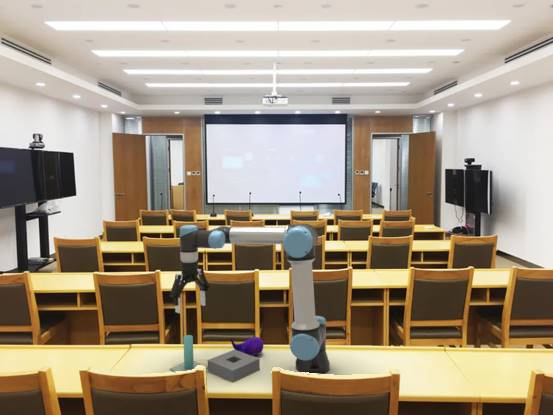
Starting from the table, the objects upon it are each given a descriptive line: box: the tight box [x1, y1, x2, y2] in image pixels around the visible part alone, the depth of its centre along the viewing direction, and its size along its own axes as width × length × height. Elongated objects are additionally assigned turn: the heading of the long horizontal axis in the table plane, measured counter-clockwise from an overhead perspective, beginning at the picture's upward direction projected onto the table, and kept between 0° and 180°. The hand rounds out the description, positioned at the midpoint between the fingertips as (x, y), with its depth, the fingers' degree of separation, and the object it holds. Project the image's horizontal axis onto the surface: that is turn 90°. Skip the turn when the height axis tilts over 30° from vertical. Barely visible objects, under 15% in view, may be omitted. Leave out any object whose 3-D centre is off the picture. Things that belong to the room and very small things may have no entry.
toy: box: [230, 336, 264, 356], centre depth 222 cm, size 9×10×15 cm
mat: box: [169, 360, 208, 372], centre depth 207 cm, size 12×12×1 cm
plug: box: [183, 334, 194, 370], centre depth 206 cm, size 4×4×14 cm
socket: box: [207, 349, 261, 383], centre depth 205 cm, size 16×16×5 cm
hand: (190, 308), depth 206 cm, fingers open, 13 cm apart
